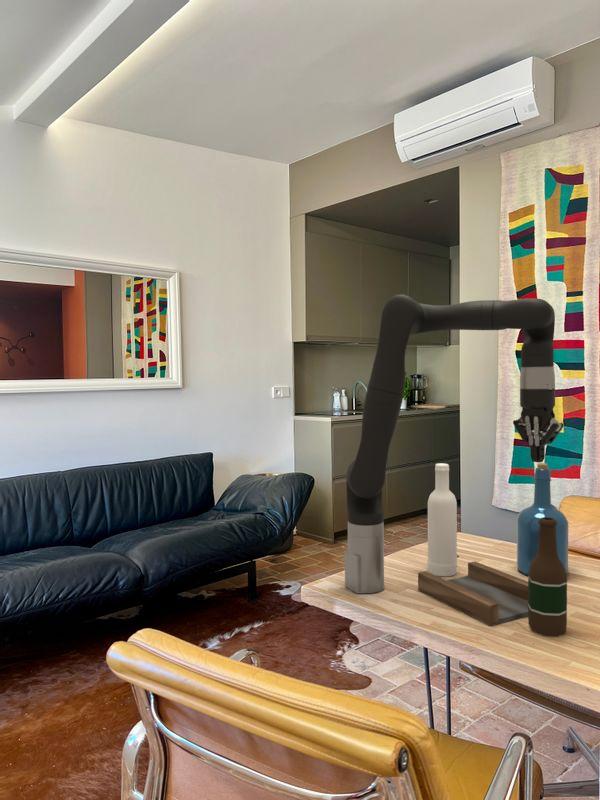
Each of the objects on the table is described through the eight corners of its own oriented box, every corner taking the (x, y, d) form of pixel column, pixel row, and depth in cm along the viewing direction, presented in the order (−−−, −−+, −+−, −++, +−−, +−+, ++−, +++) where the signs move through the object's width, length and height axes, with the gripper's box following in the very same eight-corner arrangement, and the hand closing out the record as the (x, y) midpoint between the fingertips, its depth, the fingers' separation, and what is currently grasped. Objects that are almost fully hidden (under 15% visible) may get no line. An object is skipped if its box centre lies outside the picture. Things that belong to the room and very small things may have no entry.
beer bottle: (563, 640, 126) (564, 524, 125) (524, 632, 130) (524, 520, 129) (569, 626, 132) (570, 516, 131) (531, 619, 136) (532, 512, 135)
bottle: (460, 576, 165) (460, 466, 164) (430, 576, 165) (430, 466, 164) (453, 567, 173) (453, 461, 171) (425, 567, 173) (425, 462, 172)
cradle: (490, 626, 133) (490, 605, 133) (418, 590, 155) (418, 572, 155) (551, 609, 142) (551, 590, 141) (475, 577, 164) (475, 561, 164)
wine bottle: (564, 583, 159) (564, 468, 158) (511, 575, 166) (511, 465, 165) (571, 568, 171) (572, 461, 169) (522, 561, 178) (522, 458, 176)
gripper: (503, 387, 144) (503, 459, 145) (549, 387, 133) (550, 467, 134) (526, 386, 148) (526, 457, 149) (573, 386, 136) (573, 463, 137)
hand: (537, 461), depth 141 cm, fingers closed
